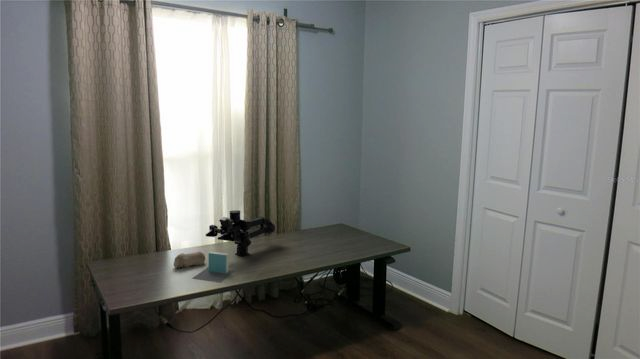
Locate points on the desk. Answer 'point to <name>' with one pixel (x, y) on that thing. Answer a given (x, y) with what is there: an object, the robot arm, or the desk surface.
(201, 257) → the sculpture
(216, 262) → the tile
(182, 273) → the desk surface
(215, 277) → the mat
